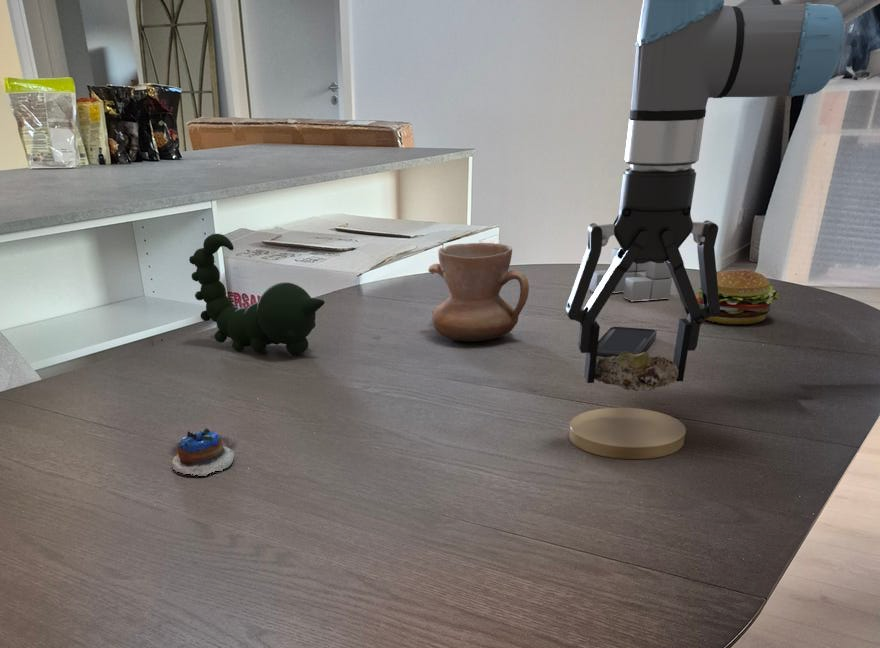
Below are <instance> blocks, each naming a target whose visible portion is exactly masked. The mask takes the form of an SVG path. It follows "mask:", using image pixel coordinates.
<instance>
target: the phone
mask: <svg viewBox="0 0 880 648" xmlns="http://www.w3.org/2000/svg"><path fill="white" fill-rule="evenodd" d="M657 332H658V331H657V329H652V328H642V327H641V328H640V327H629V326H628V327H627V326H611V327H609V329H607V331H606V332H605V333H604V334H603V335H602V336H601V337H600V338H599V339H598V349H597V356H601V357H612V356H616V357H618V356H619V355H620V354H621V353H623V352H629V353H633V354H638V353H642V352H647V350H649V348H651V347H650V346H651V345H653V343H654V341H655V340H656V338H657Z"/></svg>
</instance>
